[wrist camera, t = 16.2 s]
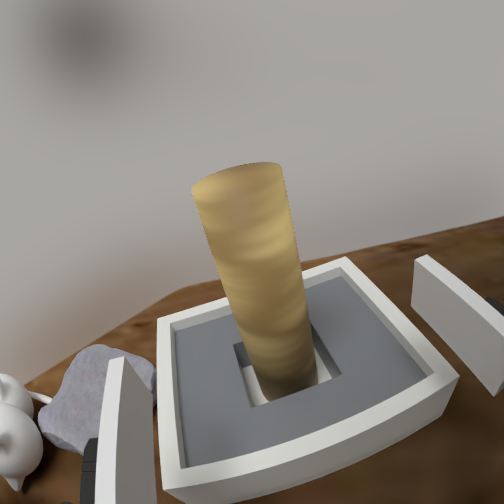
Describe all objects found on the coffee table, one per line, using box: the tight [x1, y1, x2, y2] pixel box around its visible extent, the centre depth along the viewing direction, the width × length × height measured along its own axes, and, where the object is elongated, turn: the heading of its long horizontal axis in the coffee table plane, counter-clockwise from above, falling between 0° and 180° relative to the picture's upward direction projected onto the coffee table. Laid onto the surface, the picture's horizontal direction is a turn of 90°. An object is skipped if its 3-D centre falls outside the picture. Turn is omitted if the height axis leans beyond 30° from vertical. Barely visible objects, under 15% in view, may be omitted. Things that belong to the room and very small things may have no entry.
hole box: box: [157, 256, 460, 504], centre depth 21 cm, size 18×16×5 cm
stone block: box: [38, 344, 157, 456], centre depth 23 cm, size 12×5×10 cm
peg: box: [191, 162, 318, 402], centre depth 18 cm, size 4×4×16 cm
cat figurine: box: [0, 374, 52, 491], centre depth 19 cm, size 9×11×12 cm
